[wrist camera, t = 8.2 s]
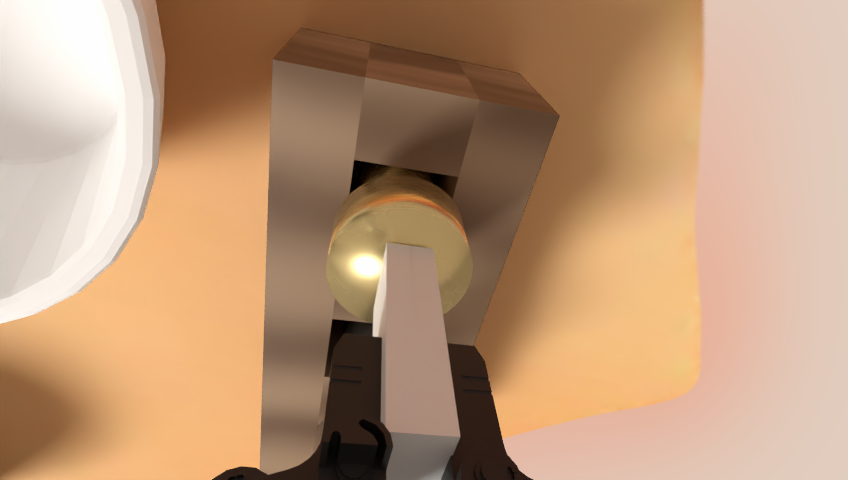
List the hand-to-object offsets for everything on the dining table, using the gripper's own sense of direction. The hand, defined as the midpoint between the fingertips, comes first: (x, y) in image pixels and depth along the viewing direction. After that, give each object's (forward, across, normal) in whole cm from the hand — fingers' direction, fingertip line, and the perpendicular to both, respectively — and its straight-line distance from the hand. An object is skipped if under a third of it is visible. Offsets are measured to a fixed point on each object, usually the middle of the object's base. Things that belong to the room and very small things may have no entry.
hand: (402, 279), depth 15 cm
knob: (+10, 0, 0) cm, 10 cm away
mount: (+10, 0, -8) cm, 13 cm away
